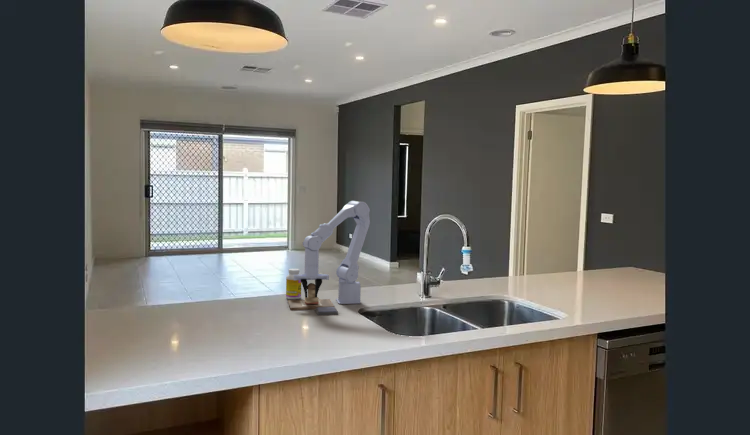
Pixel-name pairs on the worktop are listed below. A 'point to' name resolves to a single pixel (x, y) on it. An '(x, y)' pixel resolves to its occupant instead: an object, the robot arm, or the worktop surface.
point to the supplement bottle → (293, 285)
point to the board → (303, 306)
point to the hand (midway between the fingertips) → (310, 296)
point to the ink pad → (326, 311)
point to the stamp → (311, 295)
